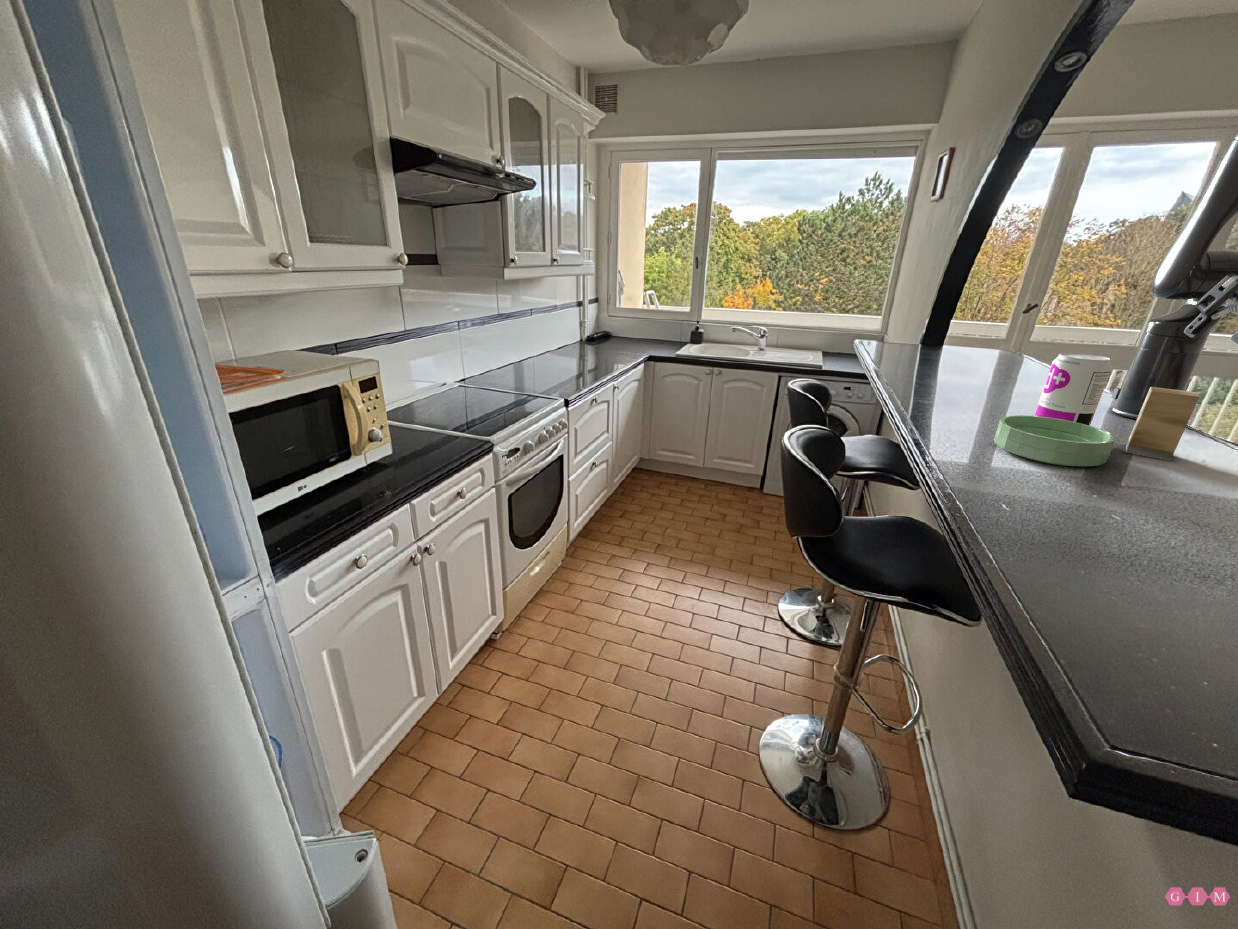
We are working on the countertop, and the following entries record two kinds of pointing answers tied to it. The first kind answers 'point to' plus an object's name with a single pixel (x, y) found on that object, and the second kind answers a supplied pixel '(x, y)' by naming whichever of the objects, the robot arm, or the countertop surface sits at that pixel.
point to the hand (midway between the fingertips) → (1212, 338)
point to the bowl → (1054, 440)
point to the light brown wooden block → (1161, 422)
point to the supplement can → (1074, 387)
